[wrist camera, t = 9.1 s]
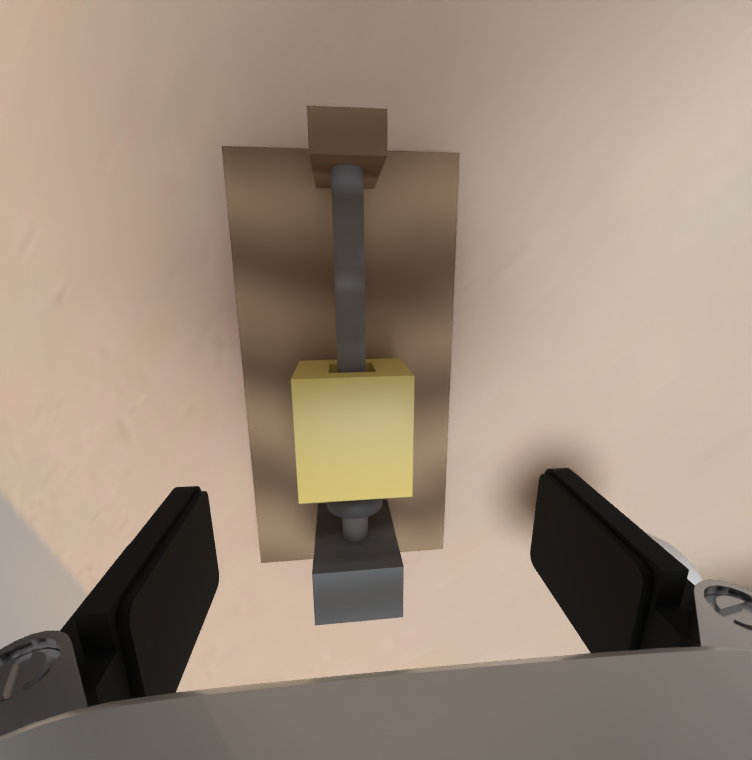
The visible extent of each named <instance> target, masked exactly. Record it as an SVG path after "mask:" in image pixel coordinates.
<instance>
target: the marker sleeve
mask: <svg viewBox="0 0 752 760" xmlns="http://www.w3.org/2000/svg"><path fill="white" fill-rule="evenodd" d="M414 379H415V376H414V374H413V373H412V372H411V371H410V370H409V369H408V368H407V366H406V365H405V364H404V363H403V362H402V361H401V360H400V358H383V359H366V372H350V373H338V372H337V360H308V361H299V363H298V365H297V368H296V370H295V372H294V374H293V376H292V378H291V391H292V406H293V422H294V438H295V453H296V469H297V485H298V500H299V504H304V503H319V502H335V501H351V500H367V499H383V498H399V497H412V489H413V434H414Z"/></svg>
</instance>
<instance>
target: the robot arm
mask: <svg viewBox="0 0 752 760" xmlns="http://www.w3.org/2000/svg"><path fill="white" fill-rule="evenodd" d="M530 556H531V561H532V564H533V566H534V568H535V569H536V571H537V572H538V574H539V575H540V577H541V578H542V580H543V581H544V583H545V584H546V586H547V587H548V589H549V590H550V592H551V593H552V595H553V596H554V598H555V600H556V601H557V603H558V604H559V606H560V607H561V609H562V610H563V612H564V613H565V615H566V616H567V618H568V619H569V621H570V622H571V624H572V625H573V627H574V628H575V630H576V631H577V633H578V634H579V636H580V637H581V639H582V640H583V642H584V643H585V645H586V646H587V648H588V649H589V651H590V652H591V653H588V654H577V655H565V656H553V657H541V658H529V659H518V660H506V661H494V662H483V663H472V664H461V665H450V666H439V667H428V668H417V669H406V670H396V671H385V672H374V673H363V674H353V675H343V676H332V677H322V678H312V679H302V680H292V681H282V682H271V683H261V684H251V685H241V686H231V687H222V688H213V689H204V690H195V691H186V692H177V693H176V690H177V688H178V685H179V683H180V680H181V678H182V675H183V673H184V670H185V668H186V665H187V663H188V660H189V658H190V655H191V653H192V650H193V648H194V645H195V643H196V640H197V638H198V635H199V633H200V630H201V628H202V625H203V623H204V620H205V618H206V615H207V613H208V610H209V608H210V605H211V603H212V600H213V598H214V595H215V593H216V590H217V587H218V583H219V570H218V563H217V556H216V549H215V541H214V534H213V527H212V520H211V513H210V505H209V498H208V494H207V492H206V491H201V489H200V487H198V486H191V487H176V488H174V489H173V490H172V492H171V493H170V494H169V495H168V497H167V498H166V499H165V500H164V502H163V503H162V504H161V505H160V507H159V508H158V509H157V511H156V512H155V513H154V514H153V516H152V517H151V518H150V519H149V521H148V522H147V523H146V524H145V526H144V527H143V528H142V529H141V531H140V532H139V533H138V534H137V536H136V537H135V538H134V540H133V541H132V542H131V543H130V544H129V545H128V546H127V547H126V549H125V550H124V551H123V552H122V554H121V555H120V556H119V557H118V559H117V560H116V561H115V562H114V564H113V565H112V566H111V567H110V569H109V570H108V571H107V572H106V574H105V575H104V576H103V577H102V579H101V580H100V581H99V582H98V584H97V585H96V586H95V588H94V589H93V590H92V591H91V593H90V594H89V595H88V596H87V598H86V599H85V600H84V601H83V603H82V604H81V605H80V606H79V608H78V609H77V610H76V612H75V613H74V614H73V615H72V617H71V618H70V619H69V620H68V621H67V623H66V624H65V625H64V626H63V628H62V629H61V630H60V631H43V632H39V633H35V634H31V635H29V636H26V637H24V638H21V639H19V640H17V641H14V642H13V643H11V644H9V645H7V646H5V647H4V648H2V649H0V760H752V592H751V591H750V590H747V589H745V588H742V587H740V586H737V585H735V584H731V583H727V582H724V581H718V580H704V581H700V582H699V583H697V584H696V585H694V584H693V583H692V582H690V581H689V580H688V579H687V577H688V573H689V569H688V568H687V567H685V566H684V565H683V564H682V563H681V562H680V561H678V560H677V559H676V558H675V557H674V556H672V555H671V554H670V553H669V552H668V551H667V550H665V549H664V548H663V547H662V546H661V545H659V544H658V543H657V542H656V541H655V540H653V539H652V538H651V537H650V536H649V535H648V534H646V533H645V532H644V531H643V530H642V529H640V528H639V527H638V526H637V525H636V524H635V523H633V522H632V521H631V520H630V519H629V518H627V517H626V516H625V515H624V514H623V513H622V512H620V511H619V510H618V509H617V508H616V507H614V506H613V505H612V504H611V503H610V502H609V501H607V500H606V499H605V498H604V497H603V496H601V495H600V494H599V493H598V492H597V491H595V490H594V489H593V488H592V487H591V486H590V485H588V484H587V483H586V482H585V481H584V480H582V479H581V478H580V477H579V476H578V475H577V474H575V473H574V472H573V471H572V470H570V469H569V468H558V469H548V470H546V472H545V474H542V475H541V476H540V479H539V486H538V494H537V502H536V510H535V518H534V526H533V534H532V543H531V551H530Z"/></svg>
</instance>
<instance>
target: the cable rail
mask: <svg viewBox="0 0 752 760" xmlns="http://www.w3.org/2000/svg"><path fill="white" fill-rule="evenodd" d="M307 117H308V139H309V149H302V148H267V147H231V146H222V154H223V165H224V175H225V186H226V197H227V207H228V218H229V228H230V239H231V249H232V260H233V270H234V281H235V291H236V302H237V312H238V323H239V333H240V344H241V355H242V365H243V376H244V386H245V397H246V407H247V418H248V428H249V439H250V449H251V460H252V470H253V481H254V492H255V502H256V513H257V523H258V534H259V544H260V555H261V563H266V562H279V561H292V560H305V559H313V571H312V578H313V596H314V613H315V625H324V624H335V623H346V622H356V621H367V620H377V619H388V618H398V617H403V569H404V567H403V563H402V558H401V554H400V552H408V551H421V550H434V549H443V536H444V512H445V488H446V464H447V440H448V416H449V392H450V368H451V344H452V321H453V297H454V273H455V249H456V225H457V201H458V177H459V153H445V152H409V151H387V109H376V108H351V107H325V106H307ZM383 358H400V360H401V361H402V362H403V363H404V364H405V365H406V366H407V368H408V369H409V370H410V371H411V372H412V373H413V374H414V376H415V379H414V434H413V489H412V497H399V498H383V499H367V500H351V501H335V502H319V503H304V504H299V500H298V485H297V469H296V453H295V438H294V422H293V406H292V391H291V378H292V376H293V374H294V372H295V370H296V368H297V365H298V363H299V361H308V360H337V372H338V373H350V372H366V359H383Z"/></svg>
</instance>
